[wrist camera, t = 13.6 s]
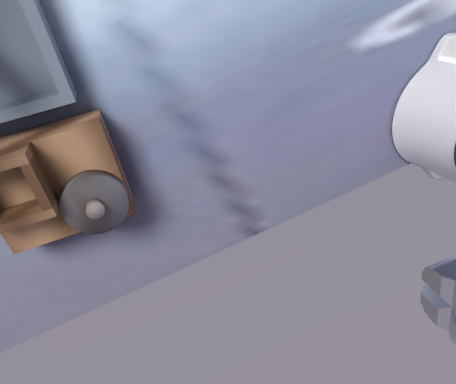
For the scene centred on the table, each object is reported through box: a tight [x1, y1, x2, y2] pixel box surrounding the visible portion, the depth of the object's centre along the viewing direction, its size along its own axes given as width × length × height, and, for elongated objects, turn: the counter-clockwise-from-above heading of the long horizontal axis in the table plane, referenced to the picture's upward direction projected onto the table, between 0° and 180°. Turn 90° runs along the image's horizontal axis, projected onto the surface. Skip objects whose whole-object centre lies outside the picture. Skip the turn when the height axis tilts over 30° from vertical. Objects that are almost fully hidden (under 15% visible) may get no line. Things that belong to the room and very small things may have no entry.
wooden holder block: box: [0, 109, 136, 254], centre depth 37 cm, size 12×10×7 cm
